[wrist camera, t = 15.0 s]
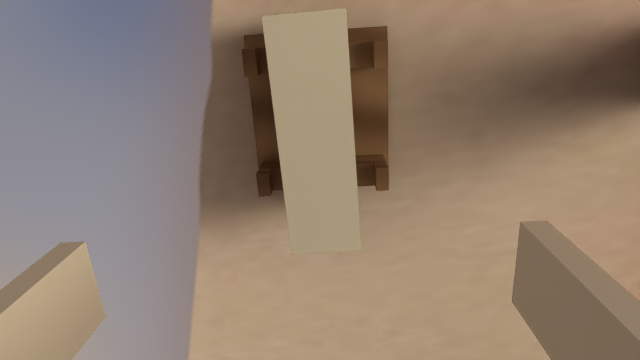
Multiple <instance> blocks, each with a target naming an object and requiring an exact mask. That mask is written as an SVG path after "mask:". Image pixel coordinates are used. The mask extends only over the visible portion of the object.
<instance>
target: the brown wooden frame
mask: <svg viewBox="0 0 640 360" xmlns="http://www.w3.org/2000/svg"><path fill="white" fill-rule="evenodd" d="M244 41H245V49H242V56H243V65H244V73H245V76H249V85H250V94H251V102H252V111H253V120H254V128H255V137H256V146H257V154H258V163H259V170H258V172H257V174H256V175H257V183H258V192H259V196H271V194H272V191H273V190H283V183H282V175H281V167H280V159H279V151H278V143H277V135H276V127H275V119H274V111H273V103H272V95H271V87H270V79H269V71H268V63H267V55H266V47H265V39H264V34H260V35H244ZM348 45H349V61H350V77H351V93H352V109H353V125H354V141H355V157H356V173H357V186H371V185H375V187H376V190H377V191H381V190H389V174H388V40H387V26H383V27H367V28H352V29H348Z"/></svg>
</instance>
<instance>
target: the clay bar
mask: <svg viewBox="0 0 640 360" xmlns="http://www.w3.org/2000/svg"><path fill="white" fill-rule="evenodd" d="M262 23H263V31H264V39H265V47H266V55H267V63H268V71H269V79H270V87H271V95H272V103H273V111H274V119H275V127H276V135H277V143H278V151H279V159H280V167H281V175H282V183H283V191H284V199H285V207H286V215H287V223H288V231H289V239H290V247H291V255H297V254H312V253H327V252H342V251H357V250H361V237H360V221H359V205H358V189H357V173H356V157H355V141H354V125H353V109H352V93H351V77H350V61H349V45H348V29H347V13H346V8H344V9H333V10H323V11H312V12H302V13H292V14H281V15H271V16H262Z"/></svg>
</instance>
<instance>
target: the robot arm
mask: <svg viewBox="0 0 640 360" xmlns="http://www.w3.org/2000/svg"><path fill="white" fill-rule="evenodd" d="M512 302H513V304H514V305H515V307H516V308H517V310H518V311H519V313H520V314H521V316H522V317H523V319H524V320H525V322H526V323H527V325H528V326H529V327H530V329H531V330H532V332H533V333H534V335H535V336H536V338H537V339H538V341H539V342H540V344H541V345H542V347H543V348H544V350H545V351H546V353H547V354H548V356H549V357H550V359H551V360H640V301H639V300H637V299H636V298H635V297H634V296H633V295H632V294H631V293H629V292H628V291H627V290H626V289H625V288H624V287H623V286H621V285H620V284H619V283H618V282H617V281H616V280H614V279H613V278H612V277H611V276H610V275H609V274H608V273H606V272H605V271H604V270H603V269H602V268H601V267H600V266H598V265H597V264H596V263H595V262H594V261H593V260H591V259H590V258H589V257H588V256H587V255H586V254H585V253H583V252H582V251H581V250H580V249H579V248H578V247H576V246H575V245H574V244H573V243H572V242H571V241H570V240H568V239H567V238H566V237H565V236H564V235H563V234H562V233H560V232H559V231H558V230H557V229H556V228H555V227H553V226H552V225H551V224H550V223H549V222H548V221H531V222H520V229H519V239H518V248H517V257H516V267H515V276H514V285H513V294H512ZM105 317H106V315H105V312H104V308H103V304H102V301H101V297H100V294H99V290H98V287H97V283H96V279H95V276H94V272H93V268H92V265H91V261H90V258H89V254H88V251H87V247H86V243H85V242H68V243H67V242H66V243H60V244H59V245H57V246H56V247H55V248H53V250H51V251H50V252H48V253H47V254H46V255H45V256H43V257H42V258H41V259H39V260H38V261H37V262H36V263H34V264H33V265H32V266H30V267H29V268H28V269H27V270H25V271H24V272H23V273H22V274H20V275H19V276H18V277H16V278H15V279H14V280H13V281H11V282H10V283H9V284H8V285H6V286H5V287H4V288H2V289H1V290H0V360H72V359H73V358H74V356H75V355H76V353H77V352H78V351H79V350H80V349H81V347H82V346H83V345H84V344H85V342H86V341H87V340H88V339H89V337H90V336H91V335H92V333H93V332H94V331H95V330H96V328H97V327H98V326H99V324H100V323H101V322H102V321H103V319H104V318H105Z"/></svg>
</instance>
